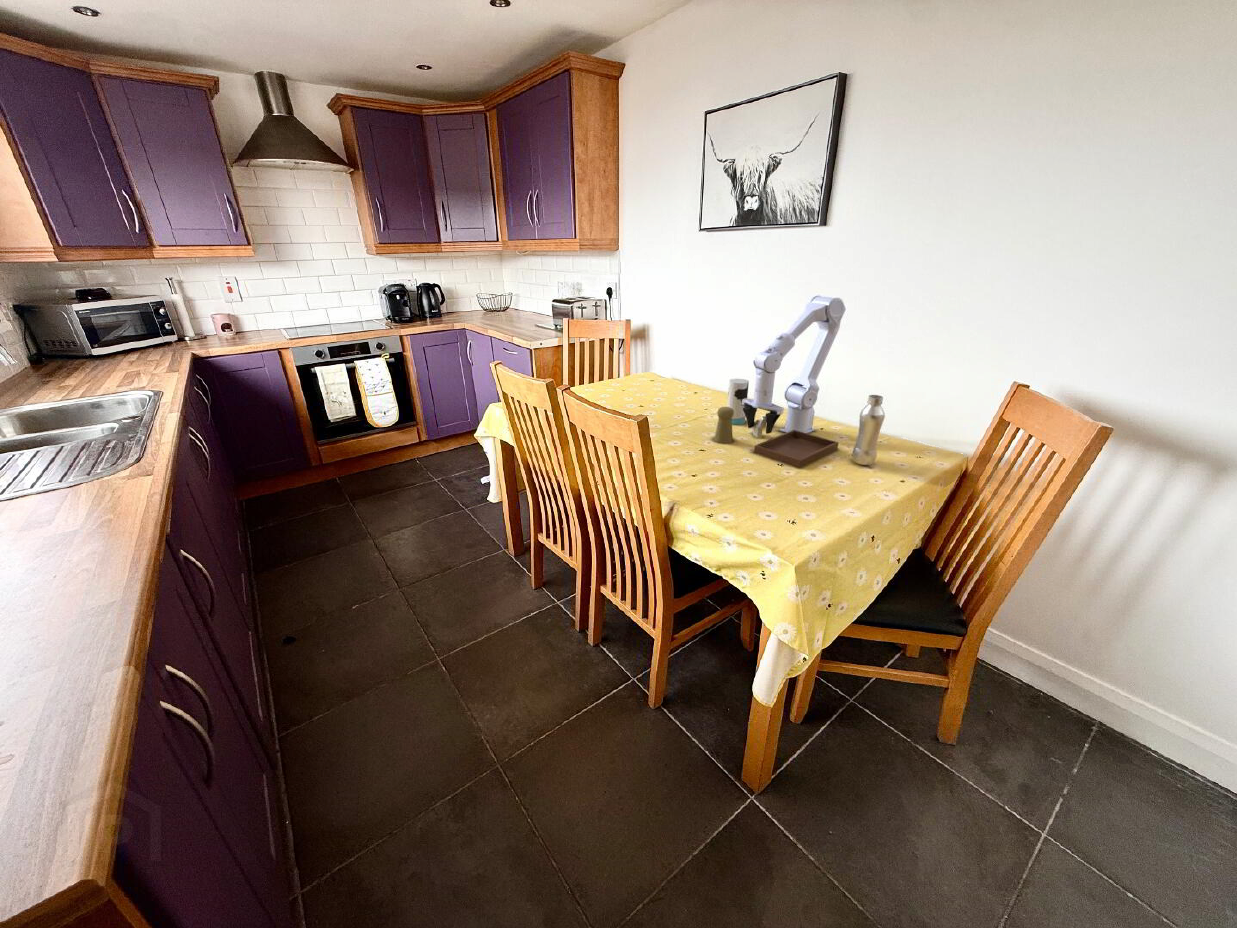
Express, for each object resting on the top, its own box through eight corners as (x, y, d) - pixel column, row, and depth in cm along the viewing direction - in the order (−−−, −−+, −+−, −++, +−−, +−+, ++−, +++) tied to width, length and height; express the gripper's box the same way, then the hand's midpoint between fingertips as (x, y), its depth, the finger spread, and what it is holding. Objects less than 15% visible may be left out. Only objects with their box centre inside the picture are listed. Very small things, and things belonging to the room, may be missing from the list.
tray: (792, 436, 166) (793, 429, 165) (837, 449, 155) (838, 442, 154) (753, 452, 154) (754, 445, 153) (799, 468, 143) (800, 460, 142)
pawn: (731, 437, 166) (734, 405, 162) (733, 443, 161) (736, 410, 156) (713, 436, 167) (715, 404, 163) (714, 443, 161) (717, 410, 157)
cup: (748, 423, 178) (752, 382, 172) (730, 425, 177) (734, 384, 171) (740, 418, 184) (743, 378, 178) (723, 419, 183) (726, 379, 177)
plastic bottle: (873, 460, 147) (887, 394, 139) (876, 469, 141) (890, 400, 133) (849, 457, 149) (861, 392, 141) (851, 466, 143) (864, 398, 135)
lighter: (752, 433, 169) (754, 410, 166) (757, 433, 169) (759, 410, 166) (760, 440, 163) (762, 417, 160) (765, 440, 163) (767, 417, 160)
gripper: (737, 388, 162) (734, 427, 168) (776, 397, 152) (771, 438, 158) (750, 384, 167) (746, 422, 172) (789, 393, 156) (783, 433, 162)
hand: (759, 430), depth 165 cm, fingers closed on lighter, 6 cm apart
